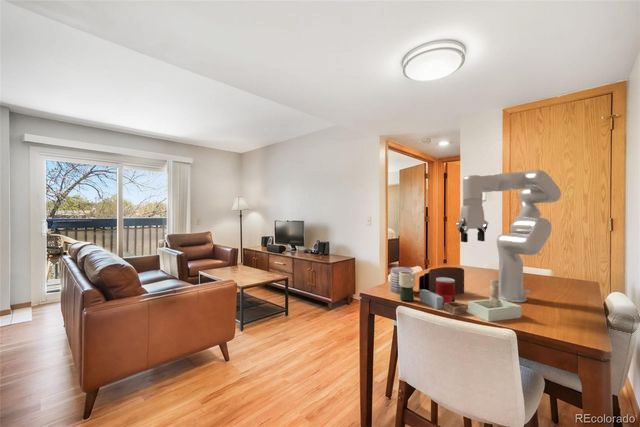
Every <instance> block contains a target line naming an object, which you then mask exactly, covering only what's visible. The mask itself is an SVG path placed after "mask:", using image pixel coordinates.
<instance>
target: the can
mask: <svg viewBox="0 0 640 427" xmlns="http://www.w3.org/2000/svg"><path fill="white" fill-rule="evenodd" d="M401 271H409V272H414V269H413V268H411V267H406V266H397V267H392V268H390V292H391V293H393V294H396V295H400V294H401V288H402V286H400V285H399V272H401ZM412 289H413V290H414V287H412Z"/></svg>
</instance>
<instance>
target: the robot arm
mask: <svg viewBox="0 0 640 427" xmlns="http://www.w3.org/2000/svg"><path fill="white" fill-rule="evenodd" d="M462 178H463V179H462V206H461V207H460V214H459V221H458V222H456V227H457V230H458V232H459V233H460V242H462V243H468V240H469V238H468V236H469V234H468V231H469V229H470V230H471V229H472V230H473V229H476V230H477V233H476V234H477V241H478V242H485V240H486V239H485V238H486V237H485V234H486V231H487V229H488V225H489V222H488V221H486V220H485V212H484V211H485V210H484V206H483V203H484V202H483V193H492V192H507V191H508V192H509V191H516V190H520V191H519V192H518V199H519V205H520V211H519V213H518V214H517V215H516V217H515V218H514V219H513V221H512V223H511V225H510V228H509V229H510V232H504V233H501V234H499V235H498V237H497V238H496V248H497V252H498V281H499V299H502V300H505V301H508V302H511V303H525V302H527V300H528V298H527V297H526V296H525V295H530V292H531V291H530V290H529V289H524V262H523V259H522V257H521V255H524V256H536V255H537V254H539V253H540V252H541V250H542V248H543V247H544V246H545V244H546V242H547V240H548V239H549V238H550V237H551V233H552V223H551V222H550V220H548V219H547V218H544V217H542V216H541V215H542V214H541V211H540V209H539V208H538V207H537V205H536V204H549V203H550V204H551V203H556V202H558V201H559V200H560V198H561V197H562V192H561V189H560V187H559V185H558V184H557V183H556V182H555V181H554V179H553V178H552V177H551V176H550V174H548V173H547V172H546V171H544V170H543V169H533V170H525V171H514V172H502V173H497V174H492V175H491V174H488V175H478V174H474V175H473V174H471V175H465V176H464V177H462Z"/></svg>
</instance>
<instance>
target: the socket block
mask: <svg viewBox="0 0 640 427" xmlns="http://www.w3.org/2000/svg"><path fill="white" fill-rule="evenodd" d="M443 311H444V312H447V313H449V314H450V315H453V316H459V315H460V316H461V315H467V314H468V305H467V306H466V305H465V304H462V303H460V302H457V301H455V302H450V303H444V305H443Z"/></svg>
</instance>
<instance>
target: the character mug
mask: <svg viewBox="0 0 640 427" xmlns="http://www.w3.org/2000/svg"><path fill="white" fill-rule="evenodd" d="M415 280H416V273H415V272H414V271H413V272H409V271H401V272H399V285H400V286H402V288H401V294H399V298H400V300H401V301H408V302H410V301H413V302H414V300H415V296H414V287H416V283H415ZM412 287H413V289H412Z"/></svg>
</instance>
